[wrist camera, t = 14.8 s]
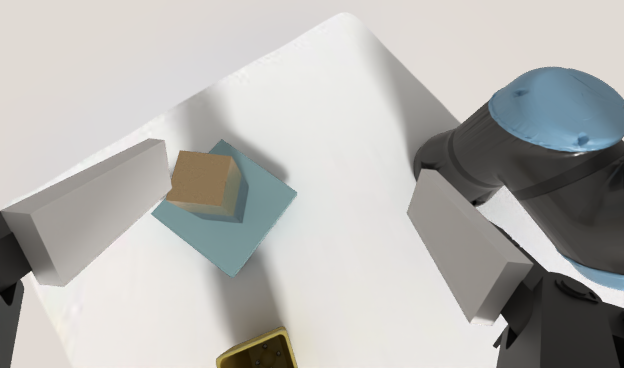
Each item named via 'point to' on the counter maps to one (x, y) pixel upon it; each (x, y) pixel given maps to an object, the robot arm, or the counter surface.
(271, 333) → the flower pot
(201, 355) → the counter surface
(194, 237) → the teal stand
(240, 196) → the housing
